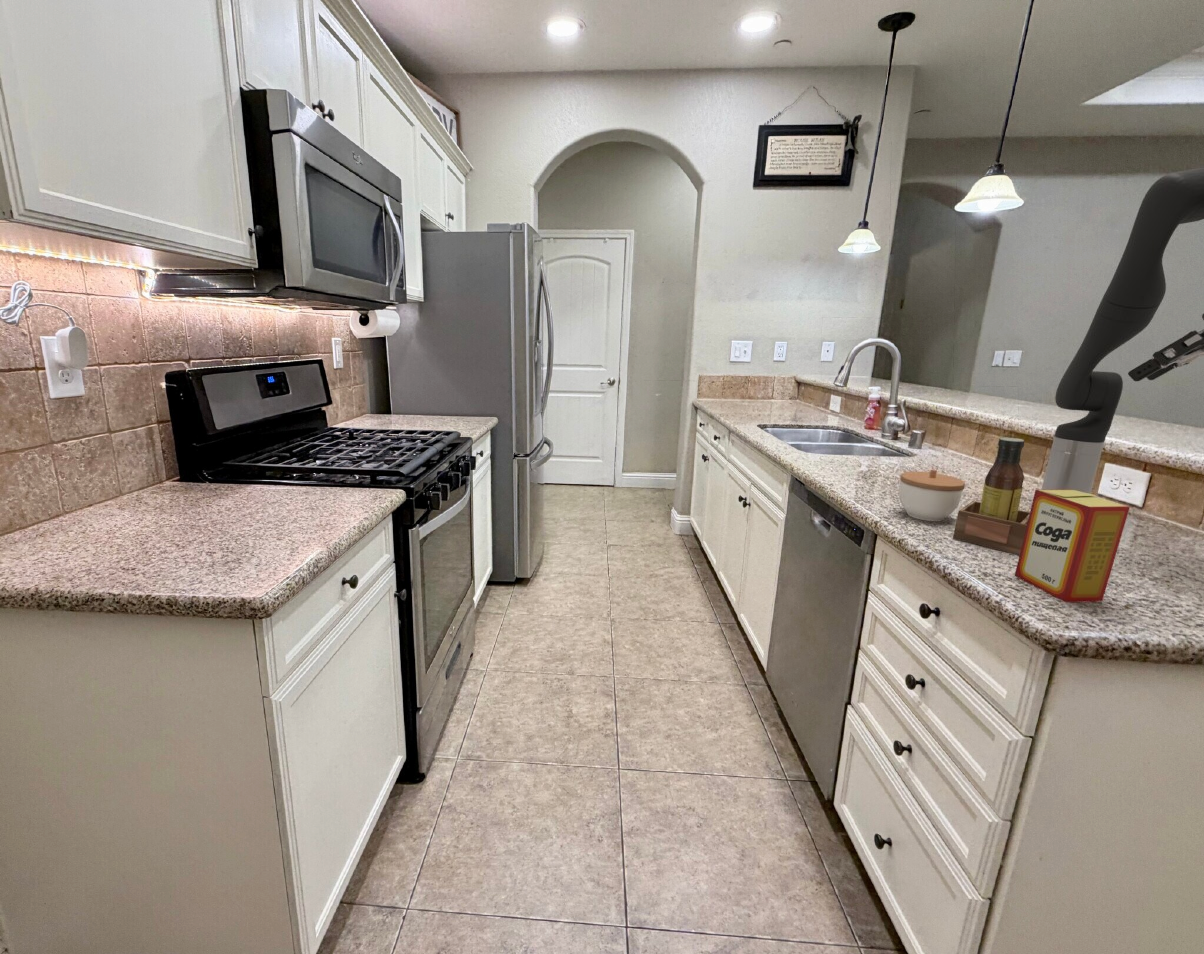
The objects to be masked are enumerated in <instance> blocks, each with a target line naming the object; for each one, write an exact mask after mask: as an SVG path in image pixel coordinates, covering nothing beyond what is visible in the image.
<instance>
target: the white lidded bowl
mask: <svg viewBox="0 0 1204 954" xmlns="http://www.w3.org/2000/svg"><path fill="white" fill-rule="evenodd" d="M899 479H900V481H899V485H898V487H899V488H898V494H899V495H898V497H899V498H898V499H899V502H900V503H901V506H902V507H903V509H904V510H905V511H906V513H907V515H908V516H909V517H911V518H913V519H917V520H920V521H921V520H922V521H926V522H942V521H943V520H944V519H945V518H947V517H949V516H950V515H952V514H953V513H954V512H955V510H956V509H958V506H959V505H960V503H961V499H962V495H963V493H964V492H963V491H964V489H965V486H966V483H965V481H963V480H962V479H960V478H957V477H955V476H951V475H947V474H941V473H938V470H937V469H934V468H933V469H932V468H931V469H930V472H928V471H905V472H902V473H900V477H899Z"/></svg>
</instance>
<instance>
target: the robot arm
mask: <svg viewBox="0 0 1204 954" xmlns="http://www.w3.org/2000/svg"><path fill="white" fill-rule="evenodd" d="M1203 220H1204V166H1203V167H1198V168H1193V169H1186V170H1181V171H1176V172H1175V171H1174V172H1171V173H1167V174H1165V175H1163V176H1160V177H1159V179H1157V180H1156V181H1155V182H1154V183H1153V184H1152V185H1150V188H1149V189H1148V190H1147V191H1146V193H1145V195H1144V197H1143V199H1142V201H1141V202H1140V206H1139V209H1138V212H1137V214H1136V217H1135V220H1134V223H1133V225H1132V229H1131V232H1130V235H1129V238H1128V241H1127V243H1126V245H1125V249H1124V251H1123V253H1122V256H1121V258H1120V260H1119V262H1118V266H1117V267H1116V269H1115V272H1114V274H1113V276H1112V279H1111V281H1110V283H1109V285H1108V287H1107V289H1106V291H1105V292H1104V294H1103V297H1102V299H1101V301H1100V302H1099V305H1098V307H1097V309H1096V312H1095V314H1094V316H1093V318H1092V320H1091V323H1090V325H1089V328H1088V330H1087V331H1086V334H1085V336H1084V338H1083V340H1082V343H1081V344H1080V347H1079V348H1078V349H1077V351H1076V353H1075V354H1074V357H1073V358H1072V360H1071V362H1070V364H1069V365H1068V367H1067V368H1066V370H1065V372H1064V374H1063V376H1062V377H1061V379H1060V381H1059V383H1058V385H1057V389H1056V392H1055V397H1054V399H1055V404H1056V405H1057V407H1058V408H1060V409H1063V410H1069V411H1083V412H1084V411H1085V412H1087V414H1086V415H1085V416H1084V417H1082V418H1080V419H1077V420H1074V421H1070V422H1066V423H1062V424H1059V425H1058V426H1057V427H1056V430H1055V432H1054V437H1053V441H1052V445H1051V450H1050V453H1049V458H1048V462H1047V466H1046V470H1045V473H1044V474H1045V475H1044V478H1043V480H1042V481H1043V482H1042V485H1041V489H1040V490H1044V489H1071V490H1076V491H1080V492H1084V493H1089V494H1092V490H1093V485H1094V481H1095V478H1096V474H1097V471H1098V467H1099V463H1100V460H1101V456H1102V451H1103V449H1104V444H1105V441H1106V438H1107V435H1108V433H1109V431H1110V429H1111V426H1112V424H1113V419H1114V417H1115V414H1116V410H1117V408H1118V405H1119V403H1120V400H1121V395H1122V393H1123V388H1124V382H1123V377H1122V376H1121V374H1119V373H1117V372H1115V371H1114V372H1113V371H1098V370H1097V371H1094V369H1096V367H1097V366H1098V365H1099V363H1100V362H1101V361H1102V360H1104V358H1106V357H1107V356H1108V355H1110V354H1111V353H1112V352H1114V351H1115V350H1116V349H1118V348H1120V347H1122V346H1123V345H1125V344H1126V343H1127V342H1129V341H1130V340H1132V339H1133V338H1134V337H1136V336H1137V335H1140V333H1141V332H1143V331H1144V330H1145V329H1146V328H1147V327H1148V326H1149V324H1150V323H1151V322H1152V320H1153V319H1154V316H1155V315H1156V312H1157V310H1158V309H1159V307H1160V306H1161V303H1162V301H1163V299H1164V297H1165V294H1166V289H1167V286H1166V285H1167V283H1166V277H1165V271H1164V265H1163V259H1164V253H1165V251H1166V248H1167V246H1168V244H1169V241H1170V240H1171V237H1172V236H1173V235H1174V233H1175V230H1176V229H1177V228H1178V226H1179V225H1183V224H1189V223H1193V222H1194V223H1195V222H1199V221H1203ZM1201 318H1202V320H1203V321H1204V313H1202V315H1201ZM1203 356H1204V329H1202V330H1200V331H1197V330H1196V329H1195V330H1193V331H1189V332H1188V333H1187V334H1185V335H1183V336H1182V337H1180V338H1178V339H1177V340H1175V341H1173V342H1172V343H1170V344H1168V345H1167V346H1165V347H1162V348H1161V349H1160V350H1158V351H1155V352H1153V354H1152V356H1151V357H1150V359H1148V360H1146V361H1145V362H1143V363H1142V364H1140V365H1138V366H1136V367H1135V368H1134V367H1133V369H1131V370H1129V371H1128V372H1127V375H1128V376H1129V377H1130V379H1132V381H1134V382H1140V381H1142V380H1144V379H1145V378H1146V379H1147V380H1149V381H1154V380H1156V379H1158V378H1159V377H1161V376H1163V375H1165V374H1167V373H1168V372H1170V371H1172V370H1175V369H1178V368H1181V367H1183V366H1185V365H1186V366H1187V365H1188V364H1189V365H1190V363H1192V362H1194V361H1196V360H1198V359H1199V358H1201V357H1203Z"/></svg>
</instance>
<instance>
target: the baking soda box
mask: <svg viewBox="0 0 1204 954" xmlns="http://www.w3.org/2000/svg"><path fill="white" fill-rule="evenodd" d="M1130 509H1131V507H1130V506H1127V505H1125V504H1121V503H1117V502H1115V501H1111V500H1108V499H1104V498H1101V497H1098V496H1097V494H1092V493H1090V494H1089V493H1084V492H1080V491H1076V490H1071V489H1044V490H1041V489H1035V491H1034V494H1033V499H1032V503H1031V507H1030V511H1029V512H1030V515H1029V519H1028V523H1027V527H1026V531H1025V535H1024V539H1023V543H1022V547H1021V551H1020V555H1018V560H1017V565H1016V568H1015V572H1014V577H1016V578H1018V579H1020V580H1021V581H1023V582H1025V583H1028V584H1030V585H1032V586H1033V585H1034V586H1033V587H1035V588H1037V589H1039V590H1041V591H1043V592H1045V593H1046V594H1049V595H1051V596H1053V597H1054V598H1056V599H1058V600H1060V601H1062V602H1065V603H1079V602H1084V601H1085V602H1102V601H1104V600H1103V599H1104V596H1105V593H1106V589H1107V586H1108V583H1109V579H1110V576H1111V571H1112V569H1113V566H1114V562H1115V559H1116V555H1117V551H1118V549H1119V546H1120V542H1121V539H1122V534H1123V532H1124V529H1125V524H1126V522H1127V518H1128V514H1129V511H1130Z"/></svg>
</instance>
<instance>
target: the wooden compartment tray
mask: <svg viewBox="0 0 1204 954" xmlns="http://www.w3.org/2000/svg"><path fill="white" fill-rule="evenodd" d="M980 505H981V501H976V500H972V501H970V502H969V503H967V504H965V506H963V507H961V508H960V509H959V510H958V512H957V516H956V522H955V526H954V531H953V536H952V539H954V538H955V539H954V540H958V541H962V542H966V543H969V544H970V543H971V544H974V545H978V546H983V547H986V548H991V549H995V550H999V551H1003V552H1006V553H1010V554H1015V555H1018V556H1020V551H1021V547H1022V543H1023V539H1024V535H1025V531H1026V527H1027V523H1028V519H1029V515H1030V511H1027V510H1026V511H1025V510H1020V509H1018V514H1017V519H1016V522H1013V521H1008V520H1004V519H999V518H994V517H990V516H985V515H980V514H979V510H980Z"/></svg>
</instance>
